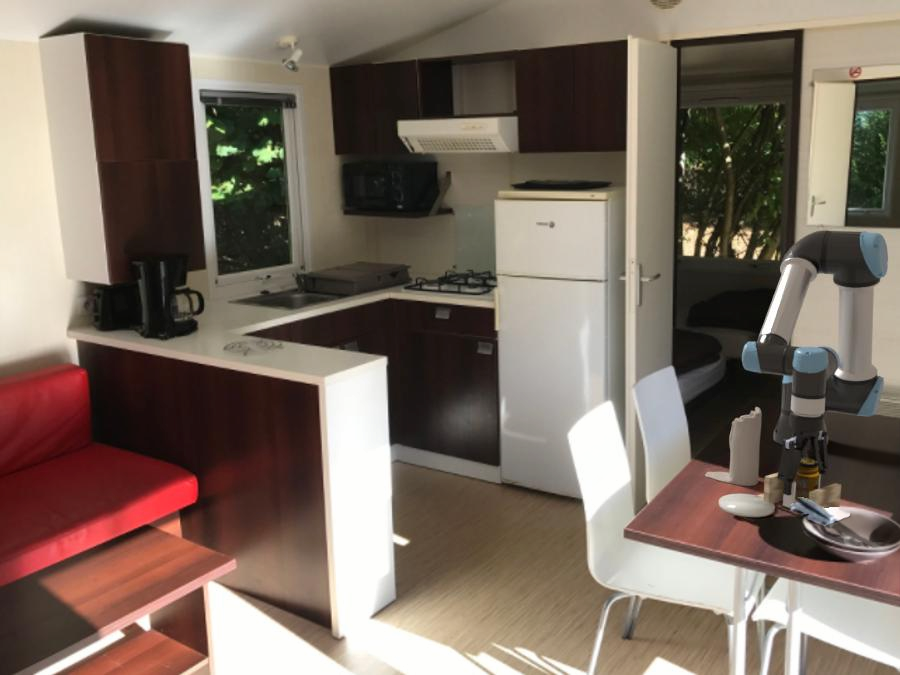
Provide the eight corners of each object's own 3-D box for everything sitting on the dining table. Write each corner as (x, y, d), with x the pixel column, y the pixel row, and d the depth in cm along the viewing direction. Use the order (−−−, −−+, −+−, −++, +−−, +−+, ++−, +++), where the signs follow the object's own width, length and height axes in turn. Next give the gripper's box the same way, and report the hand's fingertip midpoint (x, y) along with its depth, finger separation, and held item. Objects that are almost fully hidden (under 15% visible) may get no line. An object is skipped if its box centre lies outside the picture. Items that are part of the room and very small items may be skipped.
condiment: (824, 509, 221) (828, 461, 218) (802, 517, 216) (806, 468, 214) (798, 499, 227) (801, 453, 224) (776, 507, 222) (779, 460, 220)
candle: (709, 469, 248) (713, 398, 244) (761, 479, 240) (765, 406, 236) (700, 477, 243) (703, 405, 238) (752, 488, 235) (757, 413, 231)
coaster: (742, 492, 232) (742, 489, 231) (786, 509, 221) (786, 506, 221) (707, 504, 225) (707, 501, 225) (750, 521, 214) (750, 518, 214)
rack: (779, 491, 232) (781, 464, 231) (850, 516, 216) (852, 488, 214) (753, 499, 227) (754, 472, 226) (824, 526, 211) (826, 497, 209)
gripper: (821, 401, 225) (815, 488, 230) (764, 416, 214) (759, 507, 219) (848, 408, 219) (842, 497, 224) (791, 424, 208) (785, 517, 212)
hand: (801, 502), depth 221 cm, fingers open, 9 cm apart
